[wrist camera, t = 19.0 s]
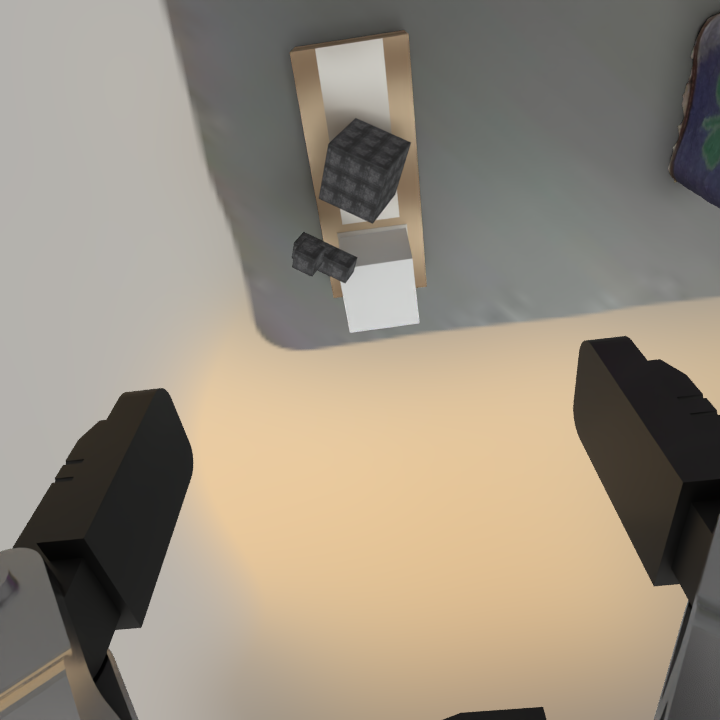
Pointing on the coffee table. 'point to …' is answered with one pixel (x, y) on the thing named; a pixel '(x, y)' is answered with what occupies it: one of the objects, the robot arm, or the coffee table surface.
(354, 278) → the grey block
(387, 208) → the frame
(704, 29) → the flask
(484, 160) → the coffee table surface
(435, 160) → the coffee table surface
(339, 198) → the building blocks
